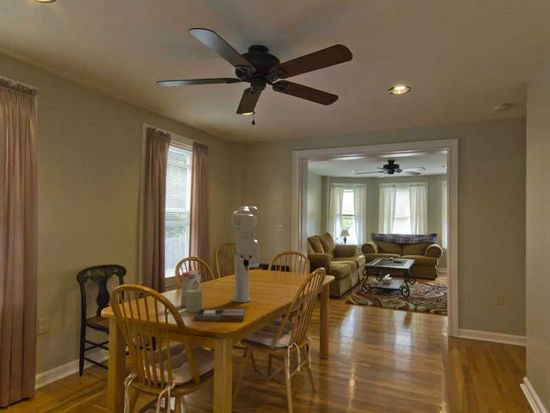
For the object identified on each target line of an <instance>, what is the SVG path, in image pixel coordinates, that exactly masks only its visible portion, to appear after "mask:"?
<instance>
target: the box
mask: <svg viewBox="0 0 550 413" xmlns="http://www.w3.org/2000/svg"><path fill="white" fill-rule="evenodd" d="M224 309H225V308H223V309H222V308H220V309H219V308H202V309H199V311H198V312H195V314H194V317H193V321H195V322H196V321H197V322H198V321H199V322H201V321H202V322H203V321H204V322H205V321H208V322H211V321H212V322H222V321H221V314H222V312H223V311H224ZM205 310H216V315H215V316H203V312H204V311H205Z"/></svg>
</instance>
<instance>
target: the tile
mask: <svg viewBox="0 0 550 413" xmlns="http://www.w3.org/2000/svg"><path fill="white" fill-rule="evenodd" d="M215 315H216V310H205V311H204V312H203V316H215Z"/></svg>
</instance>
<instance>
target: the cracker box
mask: <svg viewBox="0 0 550 413" xmlns="http://www.w3.org/2000/svg"><path fill="white" fill-rule="evenodd" d="M201 275H202V270H199V269H193V270H188V271H184V272H182V274H181V292H180V294H181V295H180V296H181V297H180V307H184V308H186V306H187V290H191V289H200V290H201V280H202V279H201V277H202V276H201Z"/></svg>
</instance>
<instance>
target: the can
mask: <svg viewBox="0 0 550 413" xmlns="http://www.w3.org/2000/svg"><path fill="white" fill-rule="evenodd" d="M202 306H203V290H202V289H201V288H200V289H191V290H187V306H186V307H185V308H186V309H185V311H186V312H188V313H197V312H198V311H199V309H203V307H202Z"/></svg>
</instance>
